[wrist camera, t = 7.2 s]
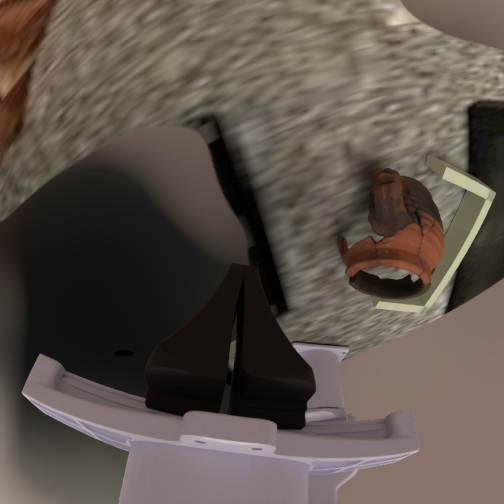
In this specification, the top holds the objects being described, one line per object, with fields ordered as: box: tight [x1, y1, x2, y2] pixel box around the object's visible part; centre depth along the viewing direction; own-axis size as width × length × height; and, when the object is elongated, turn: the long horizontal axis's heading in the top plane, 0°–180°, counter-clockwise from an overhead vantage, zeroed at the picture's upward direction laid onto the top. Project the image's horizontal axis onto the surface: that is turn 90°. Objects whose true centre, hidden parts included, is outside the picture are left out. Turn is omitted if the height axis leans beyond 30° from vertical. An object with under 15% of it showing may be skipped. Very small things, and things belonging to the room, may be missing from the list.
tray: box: [371, 154, 496, 313], centre depth 22 cm, size 15×7×3 cm, turn 171°
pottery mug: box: [339, 168, 444, 300], centre depth 20 cm, size 12×10×8 cm
